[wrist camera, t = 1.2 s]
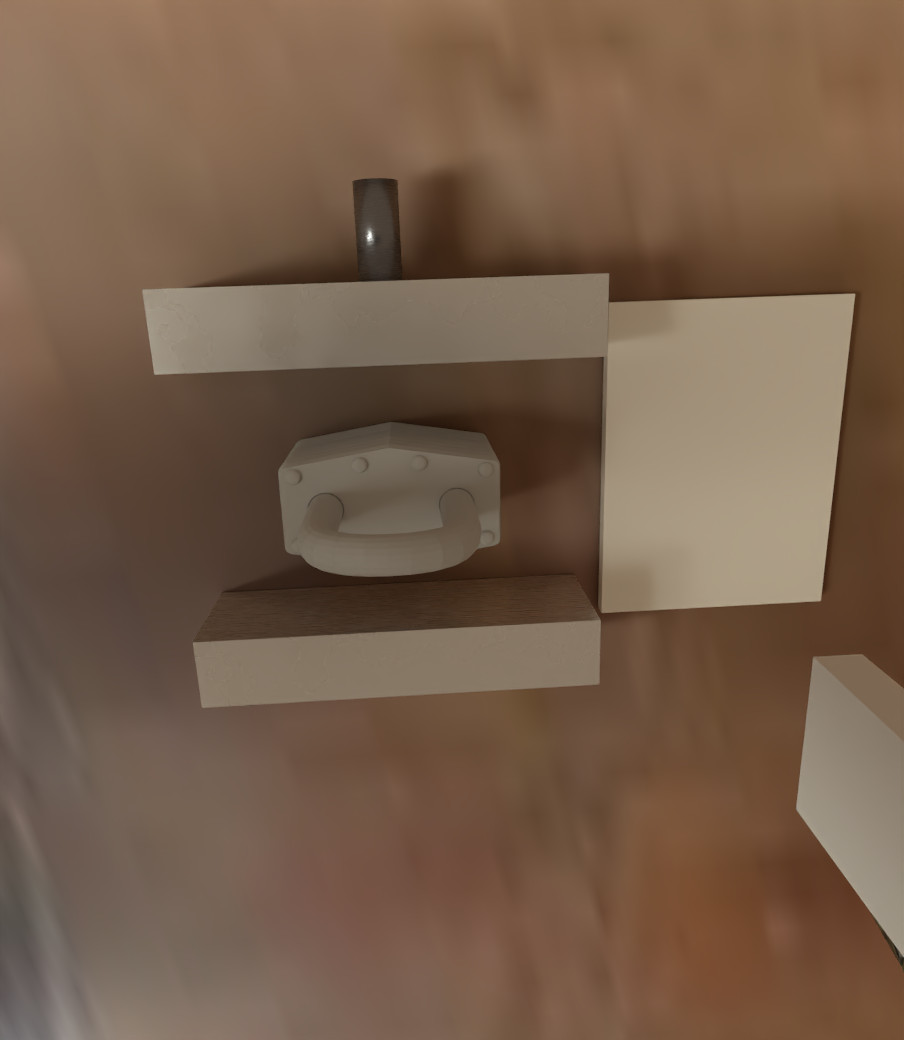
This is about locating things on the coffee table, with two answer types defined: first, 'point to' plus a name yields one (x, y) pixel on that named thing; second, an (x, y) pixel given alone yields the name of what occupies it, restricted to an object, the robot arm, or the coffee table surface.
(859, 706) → the robot arm
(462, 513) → the padlock
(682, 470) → the pad
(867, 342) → the coffee table surface
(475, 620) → the vise
